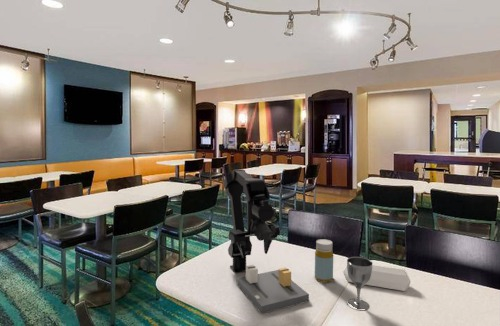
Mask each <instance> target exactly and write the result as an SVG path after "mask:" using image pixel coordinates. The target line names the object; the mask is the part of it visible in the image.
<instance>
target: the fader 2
mask: <svg viewBox="0 0 500 326" xmlns="http://www.w3.org/2000/svg"><path fill="white" fill-rule="evenodd" d="M277 270H278V282H279V283H280V284H281V285H282V286H283V287H285V286H290V285H291V280H292V271H291V270H290V269H289V268H287V267H281V268H278V269H277Z"/></svg>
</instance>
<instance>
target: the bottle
mask: <svg viewBox="0 0 500 326" xmlns="http://www.w3.org/2000/svg"><path fill="white" fill-rule="evenodd" d="M315 245H316V246H315V248H316V249H315V251H314V279H316V280H317V281H318V282H322V283H329V282H331V281H332V280H333V279H334V252H333V241H332V240H330V239H323V238H322V239H316V241H315Z"/></svg>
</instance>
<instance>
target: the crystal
mask: <svg viewBox="0 0 500 326" xmlns="http://www.w3.org/2000/svg"><path fill="white" fill-rule="evenodd" d="M342 273H343V275H344V278H345V280H346V282H349V283H353V282H352V280H351V279H350V278H349V275H348V271H347V264H346V265H345V267H344V269H343V271H342ZM365 285H366V286H373V287H378V288H385V289H391V290H397V291H402V292H406V291H407V290H408V289H409V287H410V285H411V279H410V277H409V275H408V272H407V271H406V270H405V269H401V268H396V267H390V266H389V267H387V266H381V265H375V264H372V274H371V277H370V280H369V281H368V282H367V283H366V284H365ZM365 285H364V286H365Z"/></svg>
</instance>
